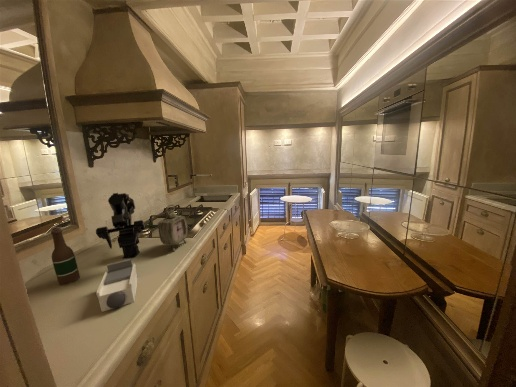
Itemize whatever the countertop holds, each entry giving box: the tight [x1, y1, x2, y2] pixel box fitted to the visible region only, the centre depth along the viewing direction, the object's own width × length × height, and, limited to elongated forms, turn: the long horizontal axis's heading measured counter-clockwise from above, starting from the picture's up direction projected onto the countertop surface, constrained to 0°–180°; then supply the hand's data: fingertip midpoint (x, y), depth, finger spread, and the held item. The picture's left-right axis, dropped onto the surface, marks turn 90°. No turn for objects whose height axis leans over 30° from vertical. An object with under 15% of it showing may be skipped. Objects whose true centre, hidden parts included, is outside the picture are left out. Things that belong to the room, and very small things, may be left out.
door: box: [105, 258, 133, 285], centre depth 85 cm, size 9×8×4 cm
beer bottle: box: [50, 228, 81, 286], centre depth 93 cm, size 8×8×24 cm
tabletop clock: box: [157, 204, 189, 252], centre depth 120 cm, size 14×9×25 cm, turn 164°
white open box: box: [95, 263, 138, 312], centre depth 82 cm, size 17×10×8 cm, turn 25°
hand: (123, 245), depth 96 cm, fingers open, 9 cm apart
